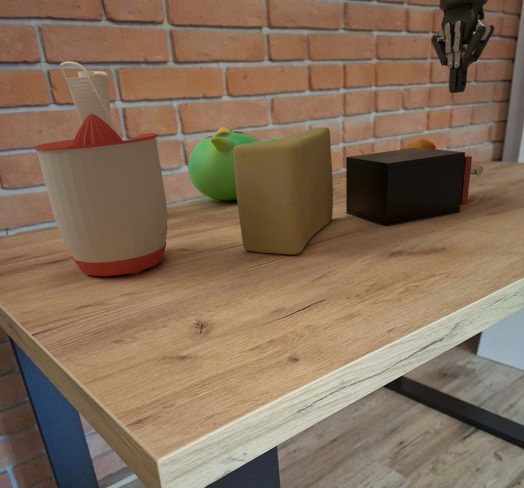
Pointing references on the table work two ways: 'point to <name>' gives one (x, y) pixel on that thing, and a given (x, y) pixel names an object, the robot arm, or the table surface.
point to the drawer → (468, 178)
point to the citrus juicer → (107, 198)
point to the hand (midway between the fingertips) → (456, 92)
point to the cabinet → (404, 185)
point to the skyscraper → (90, 94)
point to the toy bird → (217, 163)
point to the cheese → (284, 190)
